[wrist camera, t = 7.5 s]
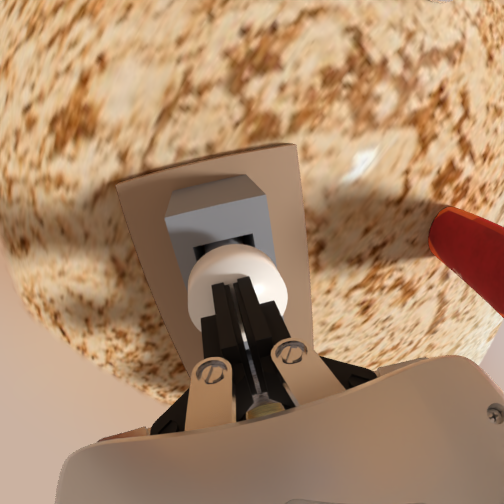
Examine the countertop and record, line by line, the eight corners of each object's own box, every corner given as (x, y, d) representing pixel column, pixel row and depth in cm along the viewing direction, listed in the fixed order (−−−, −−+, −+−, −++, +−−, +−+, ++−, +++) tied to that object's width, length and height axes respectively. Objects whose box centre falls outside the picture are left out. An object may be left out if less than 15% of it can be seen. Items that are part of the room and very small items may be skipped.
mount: (118, 182, 19) (86, 210, 13) (291, 143, 20) (333, 154, 14) (205, 402, 31) (211, 452, 24) (311, 376, 32) (332, 421, 26)
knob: (182, 209, 19) (175, 274, 11) (244, 194, 20) (282, 249, 12) (197, 264, 21) (203, 351, 13) (254, 251, 22) (291, 329, 14)
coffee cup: (423, 276, 29) (511, 357, 16) (416, 214, 25) (534, 290, 12) (467, 244, 29) (553, 305, 15) (465, 185, 25) (571, 237, 12)
